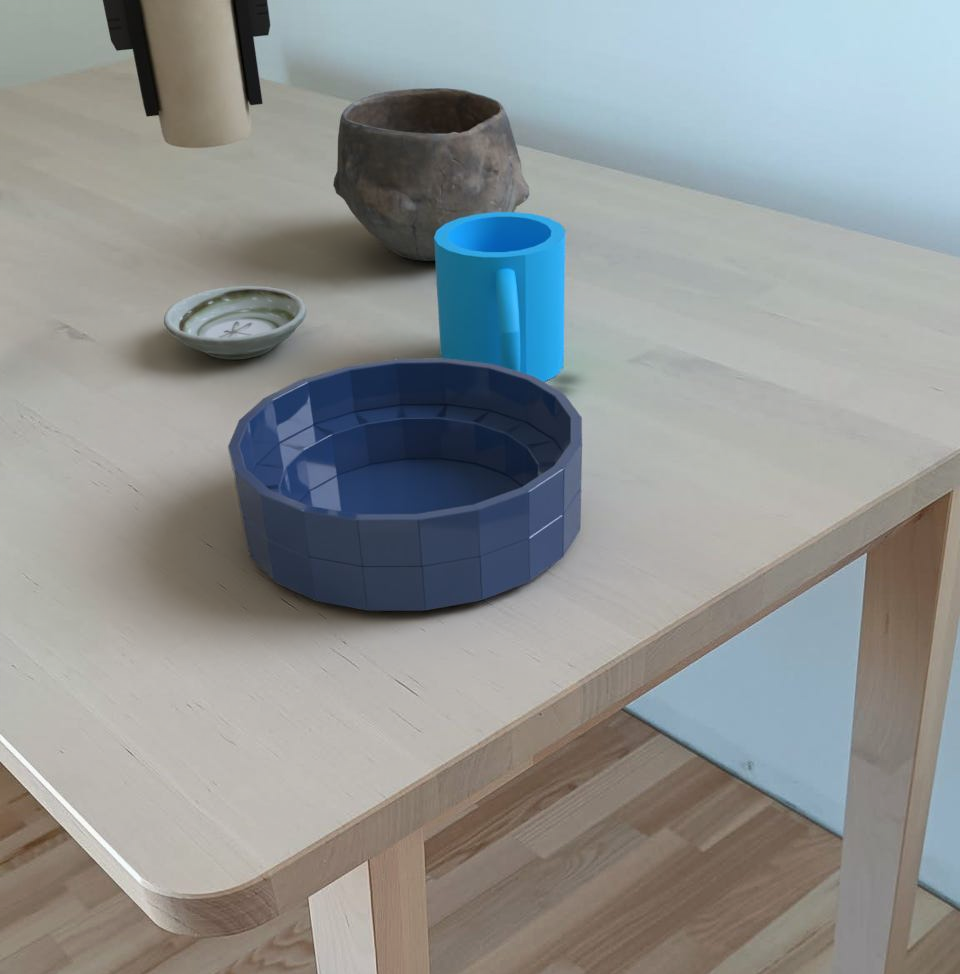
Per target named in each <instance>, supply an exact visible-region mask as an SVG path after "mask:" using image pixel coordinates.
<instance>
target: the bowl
mask: <svg viewBox="0 0 960 974" xmlns="http://www.w3.org/2000/svg"><path fill="white" fill-rule="evenodd" d="M338 126H339V127H338V134H337V169H336V173H335V175H334V178H333V184H332V185H333V188H334V191H335V193H336V194H337V195H338V196H339V197H340V198H342V200H343V201H344V202H345V203H346V205H347V207H348V208H349V210H350V212H351V213H352V214H353V215H354V217H355V218H356V219H357V221H358V222H360V224H361V225H362V226H363V228H364V229H366V231H368V232H369V234H371V235H372V236H373V237H374V238H375V240H376V241H378V243H380V245H381V246H382V247H384V248H385V249H387V250H388V251H390V252H392V253H394V254H396V255H398V256H400V257H403V258H406V259H409V260H413V261H414V260H415V261H421V262H423V261H424V262H431V261H435V244H434V237H435V234H436V231H437V230H438V229H439V228H441V227H442V226H443V225H444V224H446V223H449V222H451V221H454V220H456V219H458V218H462V217H467V216H471V215H475V214H484V213H493V212H515V210H516V209H517V207H518V206H520V205H522V204H523V203H525V202H527V201H528V198H529V197H530V190H529V189H530V186H529V184H528V183H527V181H526V179H525V178H524V175H523V170H522V162H521V159H520V158H521V157H520V155H519V151H518V148H517V144H516V140H515V137H514V133H513V130H512V126H511V123H510V120H509V117H508V114H507V112H506V110H505V107H504V106H503V105H502V103H500V102H499V101H497V100H496V99H494V98H491V97H488V96H486V95H483V94H479V93H475V92H472V91H468V90H465V89H456V88H449V87H447V88H446V87H445V88H443V87H436V88H407V89H397V90H396V89H395V90H389V91H384V92H378V93H374V94H371V95H367V96H365V97H363V98H361V99H359V100H356V101H354V102H352V103H350V104H349V105H348V106H347V107H345V108H344V110H343V112H342V113H341V115H340V119H339V125H338Z"/></svg>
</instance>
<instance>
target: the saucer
mask: <svg viewBox="0 0 960 974" xmlns="http://www.w3.org/2000/svg"><path fill="white" fill-rule="evenodd" d="M306 315H307V306H306V304H305V302H304V300H302V299H301V298H300V297H299V296H298V295H297V294H294V293H292V292H291V291H288V290H285V289H281V288H275V287H271V286H263V285H261V286H259V285H238V286H227V287H220V288H214V289H210V290H209V289H208V290H205V291H201V292H198V293H195V294H192V295H189V296H187V297H184V298H182V299H180V300H179V301H177V302H175V303H174V304H172V305H171V306H170V307H169V308H168V309H167V310H166V312H165V313H164V316H163V324H164V327H165V329H166V331H167V332H168V333H169V334H170V335H171V336H173V337H175V338H177V339H178V340H179V341H180V342H182V343H183V344H185V345H186V346H187V347H189V348H192V349H194V350H197V351H199V352H203V353H206V354H207V355H209V356H211V357H214V358H217V359H221V360H231V361H232V360H246V359H251V358H255V357H259V356H262V355H264V354H267V353H268V352H270V351H271V350H272V349H274V347H275V346H277V345H279V344H280V343H282V342H284V341H285V340H286V339H287V340H288V338H289V337H290V336H291V335H292V334H293V333H295V331H296V330H297V329H298V327H299V326H300V325H301V324H302V323H303V322H304V320H305V318H306V317H307V316H306Z"/></svg>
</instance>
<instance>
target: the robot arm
mask: <svg viewBox="0 0 960 974" xmlns="http://www.w3.org/2000/svg"><path fill="white" fill-rule="evenodd" d="M233 1H234V8H235V15H236V22H237V29H238V35H239V42H240V49H241V56H242V63H243V70H244V77H245V84H246V90H247V97H248V104H249V106H259V105H263V103H264V102H263V96H262V89H261V83H260V81H261V80H260V74H259V67H258V60H257V59H258V58H257V53H256V45H255V39H254V38H255V37H256V38H257V37H265V36H266V37H267V36H269V34H270V29H271V19H270V11H269V4H268V3H269V2H268V0H233ZM102 4H103V9H104V14H105V19H106V24H107V29H108V34H109V39H110V41H111V43H112V45H113V47H114V48H115V51H117V52H119V51H126V50H127V51H128V50H132V54H133V58H134V63H135V69H136V73H137V79H138V84H139V89H140V95H141V100H142V105H143V108H144V112H145V116H146V117H157V116H159V112H158V106H157V101H156V96H155V90H154V85H153V80H152V74H151V69H150V64H149V58H148V53H147V48H146V43H145V37H144V32H143V27H142V21H141V16H140V11H139V5H138V0H102Z"/></svg>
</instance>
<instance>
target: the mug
mask: <svg viewBox="0 0 960 974" xmlns="http://www.w3.org/2000/svg"><path fill="white" fill-rule="evenodd" d="M434 244H435V260H434V261H435V276H436V277H435V278H436V279H435V280H436V295H437V311H438V327H439V328H438V329H439V343H440V344H439V348H440V358H446V359H447V358H448V359H456V360H464V361H472V362H480V363H488V364H495V365H498V366H502V367H505V368H508V369H511V370H515V371H518V372H521V373H525V374H528V375H531V376H534V377H536V378H538V379H539V380H541V381H543V382H544V383H546V382H547V381H549V380H550V379H553V378H555V377H557V375H558V374H559V373H560V372H561V371H562V370H563V369H564V361H565V293H566V292H565V290H566V288H565V287H566V286H565V285H566V284H565V283H566V282H565V281H566V280H565V279H566V229H565V228H564V226H563V225H562V224H561V222H558V221H556V220H554V219H552V218H550V217H546V216H543V215H539V214H535V213H527V212H517V211H514V212H493V213H484V214H475V215H471V216H467V217H462V218H458V219H456V220H454V221H451V222H449V223H446V224H444V225H443V226H442V227H441V228H439V229H438V230H437V231H436V234H435V237H434Z"/></svg>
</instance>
